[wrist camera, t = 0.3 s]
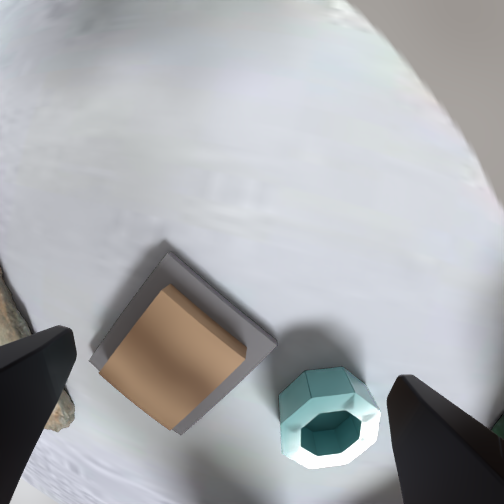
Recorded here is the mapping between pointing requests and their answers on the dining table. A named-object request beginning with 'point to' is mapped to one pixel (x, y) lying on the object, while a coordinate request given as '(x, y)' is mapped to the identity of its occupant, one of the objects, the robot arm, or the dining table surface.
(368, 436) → the bowl
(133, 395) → the lid
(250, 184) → the dining table surface
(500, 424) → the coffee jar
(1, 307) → the long grey stone
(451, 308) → the dining table surface
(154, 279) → the mat
